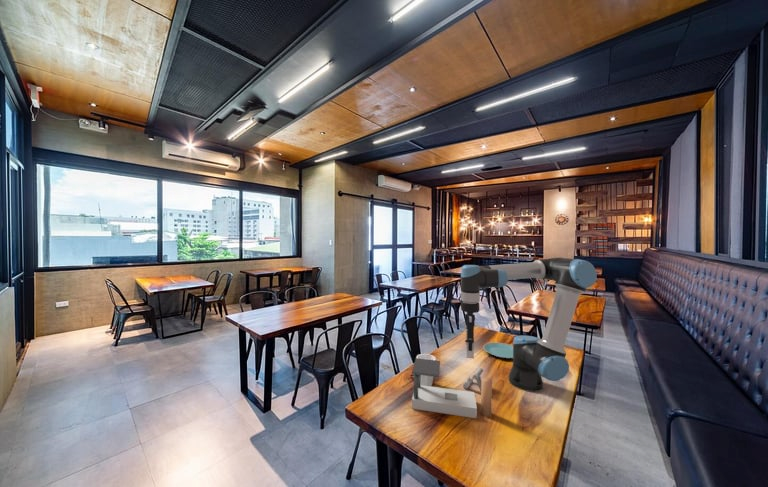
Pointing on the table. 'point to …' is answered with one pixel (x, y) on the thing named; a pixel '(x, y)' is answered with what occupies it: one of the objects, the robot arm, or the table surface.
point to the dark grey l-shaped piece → (424, 372)
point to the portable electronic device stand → (475, 376)
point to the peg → (486, 397)
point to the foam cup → (424, 379)
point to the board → (445, 401)
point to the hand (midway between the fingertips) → (469, 351)
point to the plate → (499, 350)
